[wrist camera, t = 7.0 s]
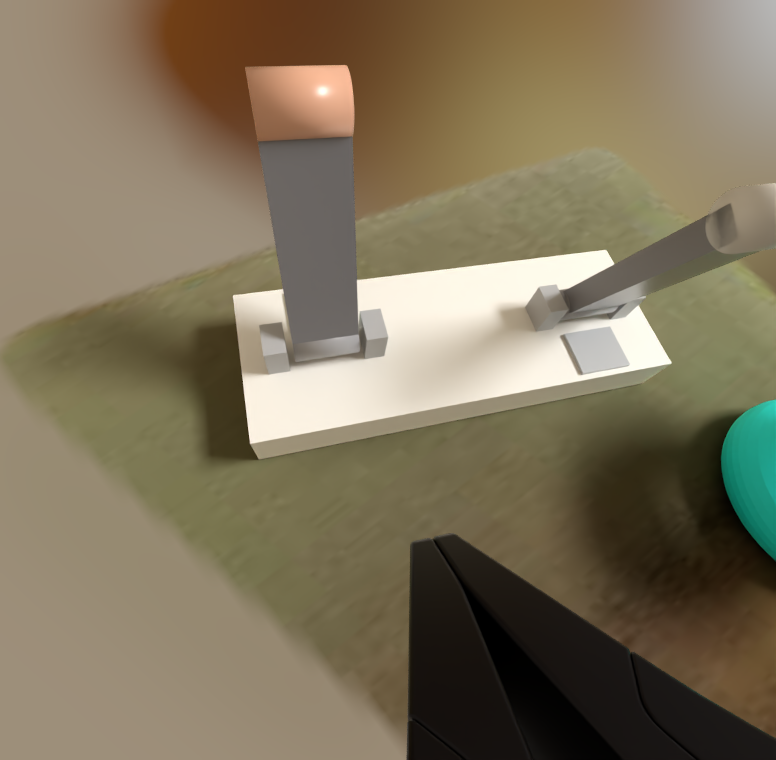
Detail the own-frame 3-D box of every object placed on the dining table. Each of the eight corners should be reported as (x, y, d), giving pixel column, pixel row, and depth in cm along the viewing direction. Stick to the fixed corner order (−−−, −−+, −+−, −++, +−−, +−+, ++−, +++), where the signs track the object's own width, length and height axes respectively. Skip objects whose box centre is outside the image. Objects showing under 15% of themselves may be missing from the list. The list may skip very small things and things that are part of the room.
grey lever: (603, 319, 24) (855, 227, 13) (555, 326, 23) (777, 237, 12) (595, 285, 24) (837, 165, 13) (547, 291, 24) (760, 172, 13)
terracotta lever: (361, 361, 20) (352, 71, 13) (297, 371, 20) (246, 74, 12) (352, 336, 22) (340, 60, 14) (292, 345, 21) (244, 61, 13)
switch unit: (642, 383, 25) (697, 346, 22) (258, 459, 21) (242, 430, 17) (584, 276, 29) (623, 227, 25) (242, 322, 24) (225, 272, 20)
